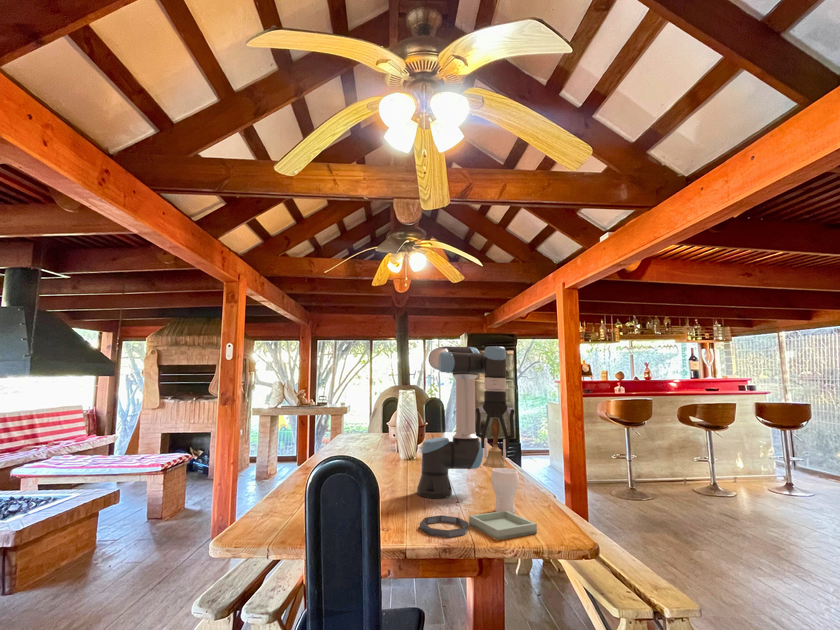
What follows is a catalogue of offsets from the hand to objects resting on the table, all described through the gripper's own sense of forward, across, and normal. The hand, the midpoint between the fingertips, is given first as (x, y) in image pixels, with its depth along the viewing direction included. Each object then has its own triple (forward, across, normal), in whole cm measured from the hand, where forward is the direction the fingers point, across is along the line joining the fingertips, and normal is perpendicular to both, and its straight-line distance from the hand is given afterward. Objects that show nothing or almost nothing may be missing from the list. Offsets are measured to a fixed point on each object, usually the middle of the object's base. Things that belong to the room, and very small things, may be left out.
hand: (495, 458), depth 153 cm
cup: (+23, +2, +22) cm, 32 cm away
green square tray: (+23, +2, +1) cm, 23 cm away
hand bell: (+3, 0, 0) cm, 3 cm away
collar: (+23, -16, -5) cm, 29 cm away
